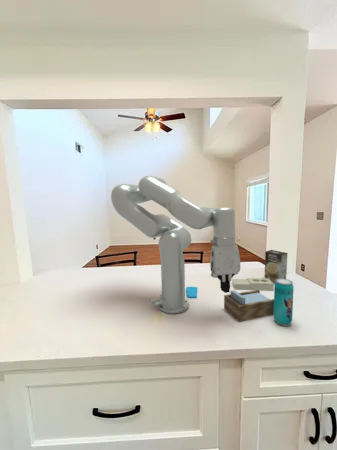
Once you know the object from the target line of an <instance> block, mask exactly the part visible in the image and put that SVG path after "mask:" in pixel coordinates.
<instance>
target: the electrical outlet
mask: <svg viewBox="0 0 337 450" xmlns="http://www.w3.org/2000/svg"><path fill="white" fill-rule="evenodd" d="M246 278H247V279H245V278H232V279H231V283H232V287H233V289H234V291H236V290H240V291H243V290H244V291H246V290H247V291H255V290H259V291H262V292H263V291H268V292H269V291H270V292H274V287H275V283H272V282H271V280H270V279H268V278H264V277H263V278H261V277H259V278H258V277H246Z"/></svg>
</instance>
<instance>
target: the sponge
mask: <svg viewBox="0 0 337 450" xmlns="http://www.w3.org/2000/svg"><path fill="white" fill-rule="evenodd" d="M185 294H186V298H187V299H197V298H198V287H197V286H186V287H185Z"/></svg>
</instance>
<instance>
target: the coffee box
mask: <svg viewBox="0 0 337 450" xmlns="http://www.w3.org/2000/svg"><path fill="white" fill-rule="evenodd" d="M264 254H265V255H264V277H263V278H268V279H270V280H271V282H272V283H273V284H275V282H276V279H287V274H288V273H287V272H288V252H283V251H278V250H274V249H270V250H266V251H265V253H264Z"/></svg>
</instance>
